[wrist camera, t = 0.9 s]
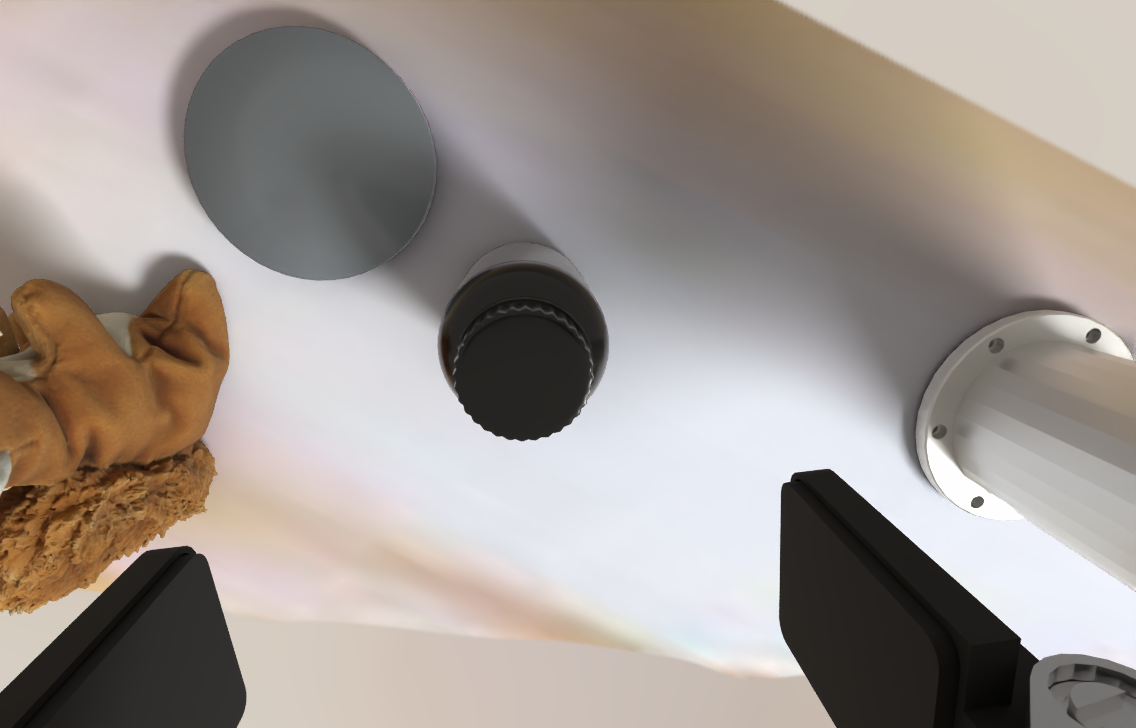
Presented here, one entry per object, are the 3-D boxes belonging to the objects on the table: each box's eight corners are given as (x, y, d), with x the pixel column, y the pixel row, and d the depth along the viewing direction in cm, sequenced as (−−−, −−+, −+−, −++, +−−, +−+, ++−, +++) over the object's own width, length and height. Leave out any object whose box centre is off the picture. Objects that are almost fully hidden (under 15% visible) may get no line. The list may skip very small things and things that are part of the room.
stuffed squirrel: (215, 254, 30) (-10, 301, 17) (276, 507, 34) (129, 695, 21) (7, 272, 30) (-378, 333, 17) (94, 526, 34) (-167, 729, 21)
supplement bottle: (433, 281, 31) (379, 335, 20) (550, 216, 31) (565, 232, 19) (500, 392, 33) (487, 500, 21) (611, 332, 32) (658, 410, 21)
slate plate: (418, 26, 28) (413, 17, 26) (451, 266, 31) (447, 269, 29) (174, 43, 27) (154, 36, 26) (231, 285, 30) (217, 290, 29)
